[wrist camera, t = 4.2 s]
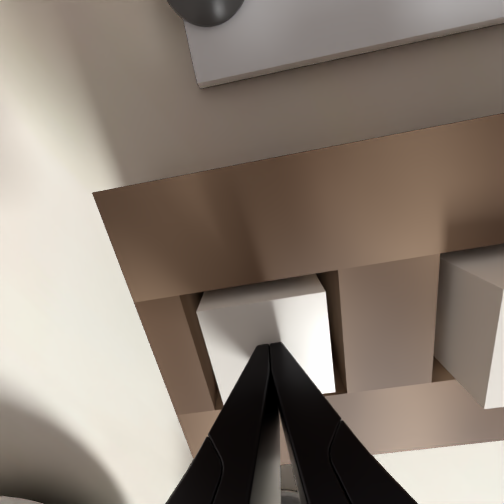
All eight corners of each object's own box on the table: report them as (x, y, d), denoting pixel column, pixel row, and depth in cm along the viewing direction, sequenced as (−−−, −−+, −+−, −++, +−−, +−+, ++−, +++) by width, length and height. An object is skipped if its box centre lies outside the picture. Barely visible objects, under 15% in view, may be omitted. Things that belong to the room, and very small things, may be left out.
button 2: (305, 257, 10) (325, 291, 7) (315, 336, 12) (335, 391, 9) (211, 272, 11) (196, 311, 8) (231, 348, 12) (224, 406, 9)
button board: (780, 61, 9) (1157, -13, 5) (664, 333, 13) (835, 403, 9) (149, 183, 11) (91, 192, 7) (213, 393, 14) (199, 473, 11)
